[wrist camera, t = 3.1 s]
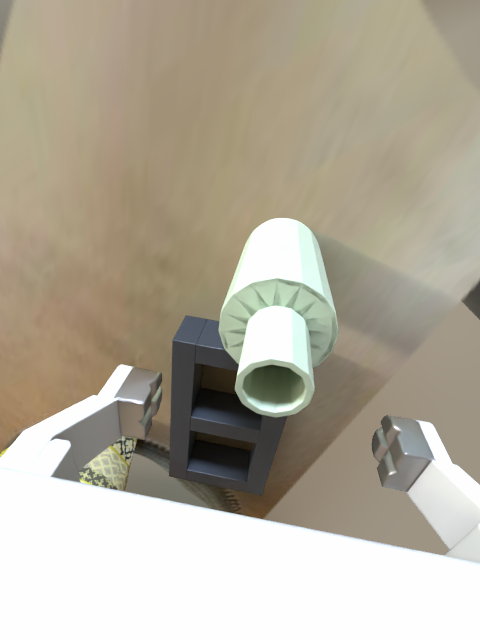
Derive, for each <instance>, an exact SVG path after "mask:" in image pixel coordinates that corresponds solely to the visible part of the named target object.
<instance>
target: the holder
mask: <svg viewBox="0 0 480 640" xmlns="http://www.w3.org/2000/svg"><path fill="white" fill-rule="evenodd" d="M203 365H208V366H213V367H218V368H224V369H229V370H234V371H238V368H239V364H238V363H237V362H236V361H235V360H234V359H233V358H232V357H231V356H230V354H229V353H228V352H227V351H226V350H225V348H224V346H223V343H222V340H221V337H220V334H219V321H213V320H208V319H202V318H197V317H192V316H185V318H184V320H183V322H182V324H181V326H180V327H179V329H178V331H177V333H176V335H175V337H174V339H173V345H172V384H171V423H170V463H169V476H170V477H175V478H180V479H185V480H189V481H194V482H199V483H204V484H209V485H214V486H218V487H223V488H228V489H233V490H238V491H242V492H247V493H252V494H257V495H262V493H263V489H264V486H265V483H266V480H267V477H268V474H269V471H270V468H271V465H272V461H273V458H274V455H275V452H276V449H277V446H278V443H279V440H280V437H281V434H282V430H283V427H284V424H285V421H286V418H287V416H282V417H271V416H266V415H261V414H258V413H255V412H254V411H252V410H251V409H249V408H248V407H246V406H245V405H243V404H242V402H241V401H240V399H239V397H238V395H233V394H228V393H223V392H218V391H213V390H208V389H203V388H201V389H200V387H201V377H202V366H203ZM196 432H201V433H206V434H211V435H216V436H221V437H226V438H231V439H236V440H241V441H246V442H251V443H252V447H251V451H248V450H243V449H238V448H233V447H228V446H223V445H218V444H213V443H208V442H203V441H199V440H196ZM195 440H196V441H195Z"/></svg>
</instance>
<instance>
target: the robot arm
mask: <svg viewBox="0 0 480 640" xmlns="http://www.w3.org/2000/svg"><path fill="white" fill-rule="evenodd" d="M161 382H162V373H160V372H156V371H151V370H147V369H142V368H137V367H131V366H126V365H122V364H121V365H120V366H118V367H117V368H116V370H115V371H114V373H113V374H112V376H111V377H110V378H109V380H108V381H107V383H106V384H105V386H104V387H103V388H102V390H101V391H100V393H99V394H98V396H94V395H93V396H91V397H89V398H87V399H85V400H83V401H81V402H79V403H77V404H75V405H73V406H71V407H69V408H67V409H65V410H63V411H61V412H60V413H58V414H56V415H54V416H52V417H50V418H48V419H46V420H44V421H42V422H40V423H38V424H36V425H34V426H32V427H30V428H28V429H26V430H24V431H23V432H22V433H21V435H20V436H19V437H18V438H17V439H16V440H15V442H14V443H13V444H12V445H11V446H10V447H9V448H8V450H7V451H6V452H5V453H4V454H3V455H2V457H1V458H0V640H480V485H479V484H478V483H477V482H476V481H474V480H473V479H472V478H471V477H470V476H469V475H468V474H467V473H465V472H464V471H463V470H462V469H461V468H460V467H459V466H458V465H454V464H452V462H451V460H450V458H449V456H448V454H447V452H446V450H445V448H444V446H443V444H442V442H441V440H440V438H439V436H438V434H437V432H436V430H435V428H434V426H433V425H432V424H431V423H429V422H424V421H418V420H412V419H407V418H401V417H395V416H389V415H386V416H385V417H384V418H383V419H382V421H381V424H382V427H381V428H379V429H377V430H376V431H375V433H374V436H373V439H372V451H373V455H374V457H375V458H376V459H377V461H378V462H379V463H380V464H379V466H378V467H377V470H378V474H379V477H380V481H381V484H382V487H387V488H391V489H396V490H400V491H405V492H407V494H408V496H409V497H410V498H411V500H412V501H413V502H414V504H415V505H416V506H417V507H418V508H419V510H420V511H421V513H422V514H423V515H424V517H425V518H426V519H427V521H428V522H429V523H430V525H431V526H432V527H433V529H434V530H435V531H436V532H437V534H438V535H439V536H440V538H441V539H442V540H443V542H444V543H445V544H446V546H447V547H448V548H449V551H448V552H447V553H446V554H445V555H438V554H433V553H428V552H423V551H418V550H413V549H408V548H403V547H398V546H393V545H388V544H383V543H378V542H373V541H368V540H363V539H358V538H353V537H348V536H343V535H338V534H333V533H328V532H323V531H318V530H313V529H308V528H303V527H298V526H293V525H288V524H283V523H278V522H273V521H268V520H264V519H259V518H254V517H249V516H244V515H239V514H234V513H229V512H224V511H219V510H214V509H209V508H204V507H199V506H194V505H189V504H184V503H179V502H174V501H169V500H164V499H159V498H154V497H149V496H144V495H139V494H134V493H129V492H124V491H119V490H114V489H109V488H104V487H99V486H95V485H90V484H85V483H80V479H79V475H78V471H79V470H80V469H81V468H83V467H84V466H85V465H86V464H88V463H89V462H90V461H91V460H93V459H94V458H95V457H97V456H98V455H99V454H100V453H102V452H103V451H104V450H106V449H107V448H108V447H109V446H111V445H112V444H113V443H115V442H116V441H117V440H118V439H120V438H121V436H124V437H130V438H136V439H142V440H145V438H146V436H147V434H148V432H149V430H150V427H151V425H152V417H153V416H155V415H156V414H157V412H158V409H159V406H160V403H161V398H162V389H161V387H160V384H161Z"/></svg>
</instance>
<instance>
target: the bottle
mask: <svg viewBox="0 0 480 640" xmlns="http://www.w3.org/2000/svg"><path fill="white" fill-rule="evenodd" d="M338 333H339V332H338V324H337V316H336V311H335V307H334V303H333V299H332V295H331V291H330V287H329V284H328V280H327V276H326V272H325V268H324V264H323V260H322V256H321V252H320V248H319V244H318V242H317V240H316V238H315V236H314V234H313V233H312V232H311V230H310V229H309V228H308V227H306V226H305V225H304V224H302V223H300V222H298V221H296V220H293V219H288V218H277V219H272V220H269V221H267V222H265V223H263V224H261V225H260V226H259V227H257V228H256V229H255V230H254V231H253V232H252V234H251V235H250V237H249V239H248V241H247V242H246V244H245V247H244V250H243V252H242V255H241V258H240V261H239V263H238V266H237V269H236V272H235V274H234V277H233V280H232V283H231V285H230V288H229V291H228V294H227V296H226V299H225V302H224V305H223V307H222V310H221V314H220V322H219V334H220V337H221V340H222V343H223V346H224V348H225V350H226V351H227V352H228V353H229V354H230V356H231V357H232V358H233V359H234V360H235V361H236V362H237V363H238V364H239V368H238V373H237V378H236V384H235V391H236V393H237V395H238V397H239V399H240V401H241V402H242V404H243V405H245V406H246V407H248V408H249V409H251V410H252V411H254V412H255V413H258V414H261V415H266V416H271V417H282V416H288V415H294V414H296V413H298V412H299V411H301V410H302V409H303V408H305V407H306V406H308V405H309V404H310V401H311V398H312V396H313V393H314V390H315V388H314V378H313V369H314V368H316V367H318V366H319V365H320V364H321V363H322V362H323V361H324V360H325V359H326V358H327V357H328V356H329V355H330V354H331V352H332V350H333V348H334V345H335V342H336V339H337V337H338Z"/></svg>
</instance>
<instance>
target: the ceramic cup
mask: <svg viewBox="0 0 480 640" xmlns="http://www.w3.org/2000/svg"><path fill="white" fill-rule="evenodd" d="M136 442H137V439H136V438H130V437H124V436H121V438H120V439H118V440H117V441H116V442H115V443H113V444H112V445H111V446H109V447H108V448H107V449H106V450H104V451H103V452H102V453H100V454H99V455H98V456H97V457H95V458H94V459H93V460H91V461H90V462H89V463H88V464H86V465H85V466H84V467H83V468H81V469H80V470H79V471H78V475H79V479H80V483H85V484H90V485H95V486H99V487H104V488H109V489H114V490H119V491H124V492H125V488H126V484H127V478H128V473H129V468H130V464H131V460H132V457H133V453H134V449H135V446H136ZM7 450H8V448H7V449H5V450H4V451H3V452H2V453H1V454H0V458H1V457H2V455H3V454H4V453H5V452H6V451H7Z"/></svg>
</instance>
